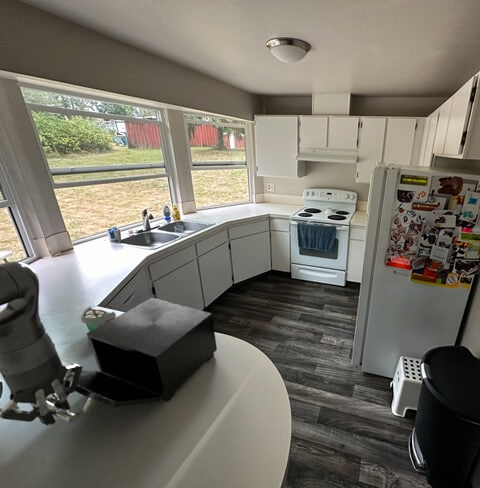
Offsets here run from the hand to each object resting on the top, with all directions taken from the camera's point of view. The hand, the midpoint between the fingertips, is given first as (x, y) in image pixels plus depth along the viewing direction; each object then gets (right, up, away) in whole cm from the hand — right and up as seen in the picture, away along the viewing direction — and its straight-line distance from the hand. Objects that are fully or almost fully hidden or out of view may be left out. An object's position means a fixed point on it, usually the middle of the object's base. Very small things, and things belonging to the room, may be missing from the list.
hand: (57, 417), depth 56 cm
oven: (+7, -1, +26) cm, 27 cm away
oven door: (+4, -3, +14) cm, 14 cm away
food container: (-24, +4, +37) cm, 45 cm away
